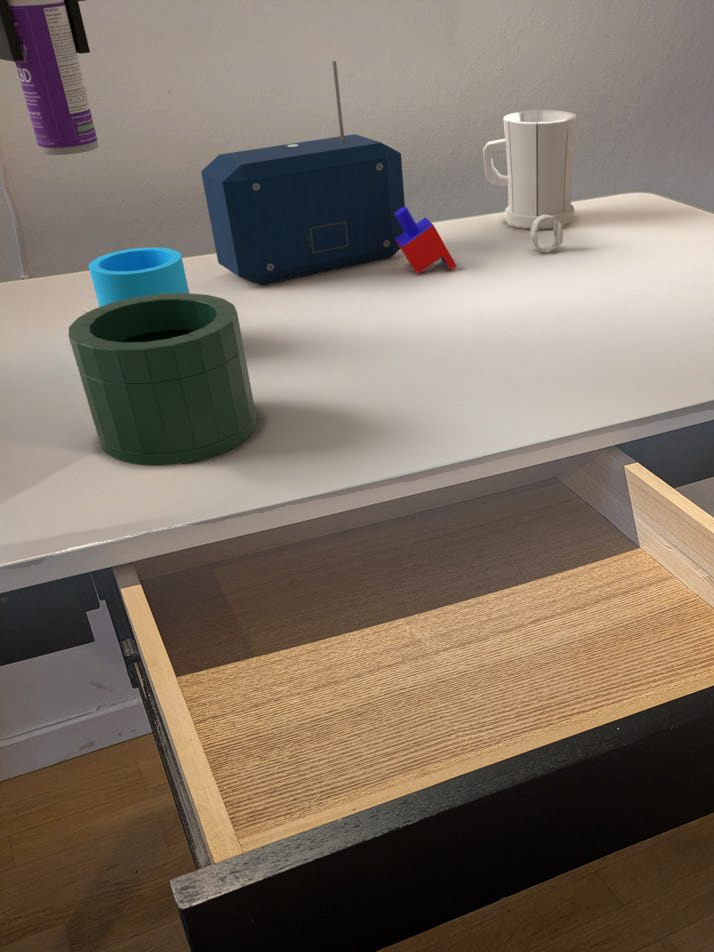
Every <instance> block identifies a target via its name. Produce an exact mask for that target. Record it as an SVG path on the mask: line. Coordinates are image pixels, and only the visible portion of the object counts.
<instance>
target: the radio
mask: <svg viewBox="0 0 714 952" xmlns="http://www.w3.org/2000/svg"><path fill="white" fill-rule="evenodd" d="M332 69H333V78H334V87H335V97H336V106H337V116H338V125H339V134H340V135H339V136H334V137H333V136H332V137H327V138H320V139H313V140H306V141H300V142H293V143H287V144H280V145H274V146H267V147H266V146H265V147H261V148H260V147H259V148H253V149H247V150H239V151H234V152H233V151H232V152H227V153H226V152H225V153H221V154H220V153H219V154H218V155H217V156H216V157H214V159H213V160H212V161H210V162H209V164H207V165H206V166H205V167H204V168H203V169H202V170H201V171H200V175H201V179H202V184H203V190H204V195H205V200H206V201H205V202H206V206H207V211H208V216H209V221H210V226H211V231H212V238H213V243H214V248H215V253H216V254H215V255H216V259H217V264H219V265H220V266H221V267H224V268H225V269H226V270H228V271H230V272H231V273H232V274H234V275H235V276H237V277H239V278H241V279H243V280H246V281H250V282H252V283H254V284H257V285H260V286H265V285H270V284H274V283H279V282H283V281H289V280H293V279H298V278H302V277H307V276H313V275H317V274H322V273H327V272H331V271H335V270H340V269H346V268H349V267H354V266H355V267H356V266H360V265H364V264H368V263H375V262H379V261H383V260H388V259H392V258H393V257H394V256H395V255H396V254H397V253H398V252H399V251H401V249H400V247H399V245H398V244H397V242H396V240H395V238H397V237H398V236H399V235H401V234H402V233H404V232H405V231H404V229H403V228H402V226H401V224H400V223H399V221H398V219H397V218H396V216H395V213H396V211H397V210H399V209H400V208H402V207H406V204H405V203H406V202H405V190H404V189H405V188H404V175H403V174H404V173H403V162H402V161H403V160H402V153H401V152H400V151H398V150H396V149H394V148H392V147H390V146H388V145H387V144H385V143H383V142H382V141H378V140H375V139H372V138H368V137H366V136H362V135H359V134H357V133H356V134H355V133H353V134H347V135H345V133H344V124H343V123H344V122H343V121H344V120H343V113H342V104H341V103H342V102H341V94H340V84H339V83H340V82H339V75H338V66H337V60H335V61H332Z"/></svg>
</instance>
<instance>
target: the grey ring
mask: <svg viewBox="0 0 714 952" xmlns="http://www.w3.org/2000/svg"><path fill="white" fill-rule="evenodd" d="M549 218H550V219H553V220H555V222H554V228H553V243H552V244H551V245H550V246H547V247H544V248H542V247H540V246H539V244H538V242H539V241H538V226H539V224H540V223H542V222H543V221H545V220H548V219H549ZM532 224H533V225H532V227H531V229H530V232H529V237H530V241H531V243H532V246H533V247H534V248H535V249H536V250H537V251H539V252H541V253H545V254H548V253H552V252H554V251H555V250H557V248H559V246H561V245H562V244H563V237H564V236H563V234H564V233H563V232H564V231H563V229H564V226H563V225H562V224H561V223H560V222H559V221H558V220H557V219H556V218H554V217H553V216H551V215H547V214H546V215H541V216H539V217H537V218H536V219H535V220H534V221H533V223H532Z"/></svg>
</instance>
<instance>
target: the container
mask: <svg viewBox="0 0 714 952" xmlns="http://www.w3.org/2000/svg"><path fill="white" fill-rule="evenodd" d="M7 2H8V5H9V9H10V13H11V16H12V20H13V24H14V27H15V31H16V35H17V38H18V42H19V46H20V49H21V53H22V57H23V61H15V62H14V64H15V68H16V71H17V75H18V78H19V81H20V86H21V89H22V92H23V96H24V100H25V104H26V107H27V110H28V114H29V118H30V121H31V125H32V128H33V133H34V136H35V139H36V143H37V146H38V149H39V153H40V154H43V155H49V156H62V155H65V156H66V155H76V154H81V153H86V152H91V151H94V150H96V149H98V148H99V142H98V136H97V133H96V128H95V124H94V120H93V116H92V111H91V108H90V103H89V99H88V95H87V90H86V85H85V83H84V78H83V74H82V69H81V66H80V62H79V57H78V53H76V49H75V45H74V41H73V36H72V32H71V28H70V24H69V20H68V16H67V11H66V7H65V3H64V0H7Z"/></svg>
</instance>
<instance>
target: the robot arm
mask: <svg viewBox="0 0 714 952" xmlns="http://www.w3.org/2000/svg"><path fill="white" fill-rule="evenodd" d="M84 1H87V0H64V3H65V7H66V11H67V16H68V20H69V24H70V28H71V32H72V36H73V41H74V45H75V49H76V53H77V54H89V53H90V54H91V50H90V47H89V42H88V38H87V33H86V29H85V24H84V21H83V15H82V12H81V8H80V3H79V2H84ZM0 60H3V61H7V62H8V61H9V62H14V63H15V61H23V57H22V53H21V49H20V46H19V42H18V38H17V35H16V31H15V27H14V24H13V20H12V16H11V13H10V9H9V5H8V2H7V0H0Z"/></svg>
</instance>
